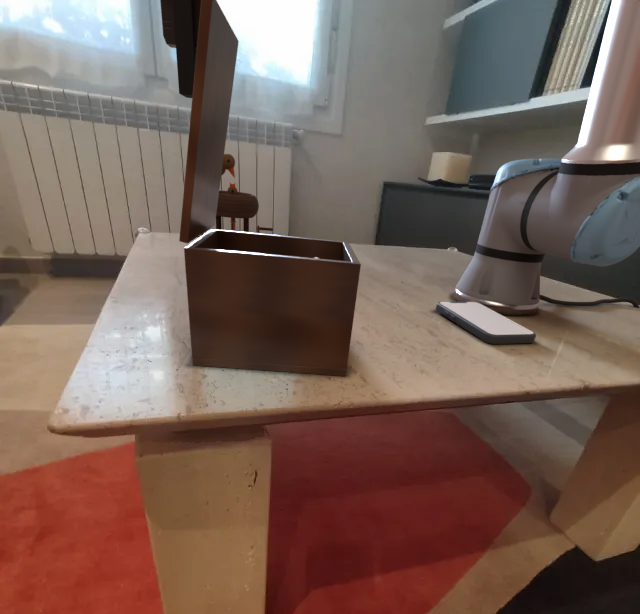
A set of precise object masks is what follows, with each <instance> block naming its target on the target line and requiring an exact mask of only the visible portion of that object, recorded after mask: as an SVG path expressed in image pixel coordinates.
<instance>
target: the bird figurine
mask: <svg viewBox="0 0 640 614" xmlns="http://www.w3.org/2000/svg"><path fill="white" fill-rule="evenodd" d="M235 165H236V159H235V157H234V156H233V155H232V154H230V153H224V158H223V166H222V174H221V176H223V175H224V174H225V173H226V170H227V171H228V172H229V173H230V174H231V176H232V177H233V178H236V174H235V173H236V172H235ZM259 205H260V204H259V199H258V198H257V197H256V195H255V194H253V193H249V192H241V191H238V189H237V187H236V182H234V183H231V182H229V187H228V188H227V190H221V189H219V197H218V204H217V212H216V220H215V229H218V230H223V229H222V226H223V225H222V218H229V219H230V221H229V222H230V231H236V223H237V220H236V219H243V223H242V224H243V225H242V226H243V229H242V230H243V232H250V219H253V218H254V217H255V216H256V215H257V214H258V212H259V209H260V206H259ZM211 229H214V228H213V227H212V228H211ZM256 230H257V231H256V233H261V232H260V231H268V232H273V231H274V228H273V227H265V226H264V227H262V226H260V225H257V226H256ZM204 234H205V232H204V233H203V234H201V235H200V236H198V237H197V238H196V240H197V239H198V238H200V237H201V236H202V235H204Z"/></svg>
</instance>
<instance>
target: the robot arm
mask: <svg viewBox="0 0 640 614" xmlns="http://www.w3.org/2000/svg"><path fill="white" fill-rule="evenodd" d="M159 1H160V13H161V26H162V36H163V39H164V41H165V44H166V45H167V46H168V47H170V48H173V49H175V55H176V66H177V67H176V68H177V80H178V81H177V83H178V94H179V95H181V96H182V97H184V98H186V99H192V96H193V85H194V74H195V63H196V52H197V41H198V30H199V19H200V8H201V0H159ZM610 3H611V4H610V7H609V11H608V15H607V19H606V23H605V27H604V32H603V36H602V41H601V44H600V48H599V52H598V56H597V61H596V65H595V68H594V74H593V77H592V80H591V81H592V82H591V85H590V90H589V93H588V98H587V101H586V106H585V110H584V114H583V118H582V123H581V127H580V132H579V134H578V139H577V142H576V144H575V145H574V147H573V148H572V149H571V150H570V151H568V152H567V153H566V154H565V155H564V156H563V157H562V158H551V157H550V158H549V157H547V158H544V157H543V158H525V159H516V160H511V161H509V162H506V163H503V165H501V166H500V167H499V169H498V170H497V172H496V175H495V178H494V180H493V183H492V186H491V187H490V190H489V195H488V200H487V203H486V207H485V211H484V215H483V219H482V223H481V227H480V231H479V236H478V239H477V244H476V246H475V251H474V253H473V254H474V255H473V256H472V259H471V260H470V262H469V264H468V266H467V267H466V269H465V270H464V272H463V274H462V276H461V277H460V279H459V280H458V282H457V284H456V286H455V289H454V292H453V299H454V300H455V301H456V302H477V303H480V304H482V305H484V306H486V307H487V308H489V309H491V310H493V311H495V312H497V313H499V314H501V315H507V316H508V315H510V316H528V315H533V314H535V313H536V312H537V309H538V307H539V304H540V300H541V301H543V302H546V303H548V304H552V305H557V306H566V307H595V306H599V305H602V304H616V303H629V304H631V305H632V306H633V308H636V309H639V308H640V305H639V303H638V301H637V300H635V299H634V298H630V297H616V298H604V299H603V298H602V299H597V300H595V301H567V300H560V299H555V298H551V297H548V296H546V295H543V294H540V293H541V267H542V263H543V261H544V258H545V254H546V255H549V256H554V257H557V258H561V259H564V260H569V261H572V262H573V263H574V264H579V265H590V266H595V267H609V266H612V265H616V264H618V263H620V262H622V261H625V259H627V258H628V257H630V256H631V255H633V254H634V253H635V252H636V251H637V250H638V249H639V248H640V0H611V2H610Z"/></svg>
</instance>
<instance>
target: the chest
mask: <svg viewBox="0 0 640 614" xmlns="http://www.w3.org/2000/svg"><path fill="white" fill-rule="evenodd" d="M200 236H201V235H200ZM183 253H184V267H185V281H186V294H187V306H188V308H187V309H188V321H189V335H190V348H191V349H190V350H191V363H192V366H199V367H209V368H211V367H212V368H227V369H238V370H251V371H252V370H253V371H268V372H282V373H296V374H311V375H323V376H324V375H325V376H335V377H336V376H337V377H338V376H339V377H346V376H347V370H348V363H349V356H350V348H351V347H350V346H351V340H352V333H353V325H354V317H355V312H356V311H355V310H356V302H357V298H358V297H357V295H358V288H359V282H360V274H361V266H362V263H361V262H360V260H359V258H358V256H357V255H356V254H355V251H354V250H353V248H352V246H351V244H350V241H343V240H333V239H323V238H322V239H321V238H314V237H313V238H312V237H302V236H290V235H279V234H269V233H261V232H260V233H257V232H250V231H249V232H244V231H239V230H235V231H231V230H228V229H222V230H218V229H216V228H213V229H212V228H210V229H209V230H207V231H206V232H204V235H202V236H201V237H200V238H198V239H197V238H196V239H194V240H193V241H191V242H190V243H188V245H185V246H184V247H183ZM315 257H317V258H319V259H317V258H315Z"/></svg>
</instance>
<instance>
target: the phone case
mask: <svg viewBox="0 0 640 614" xmlns="http://www.w3.org/2000/svg"><path fill="white" fill-rule="evenodd" d="M435 311H437V312H438V313H440V314H441V315H442V316H444V317H446V318H447V319H449V320H450V321H452V322H454V323H455V324H456V325H458V326H459V327H461V328H462V329H464V330H466V331H467V332H469V333H470V334H472V335H473V336H475V337H476V338H478V339H480V340H481V341H483V342H485V343H486V344H490V345H513V344H515V345H517V344H518V345H520V344H521V345H522V344H533V343H534V342H535V340H536V337H537V334H536V332H534V331H532V330H530V329H529V328H527V327H525V326H523V325H522V324H519V323H517V322H515V321H514V320H512V319H510V318H508V317H507V316H505V315H503V314H500V313H497V312H495V311H493V310H491V309H489V308H487V307H486V306H484V305H482V304H480V303H477V302H458V301H437V303H436V305H435Z"/></svg>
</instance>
